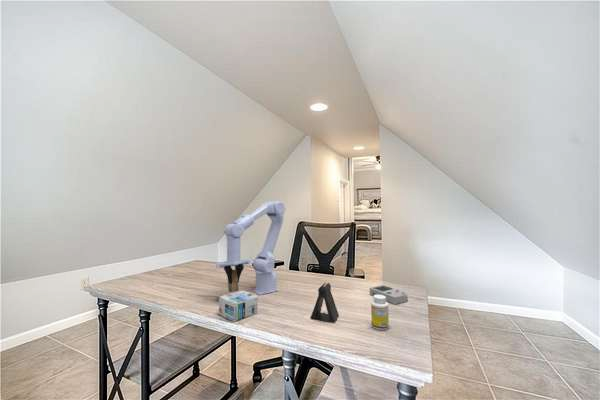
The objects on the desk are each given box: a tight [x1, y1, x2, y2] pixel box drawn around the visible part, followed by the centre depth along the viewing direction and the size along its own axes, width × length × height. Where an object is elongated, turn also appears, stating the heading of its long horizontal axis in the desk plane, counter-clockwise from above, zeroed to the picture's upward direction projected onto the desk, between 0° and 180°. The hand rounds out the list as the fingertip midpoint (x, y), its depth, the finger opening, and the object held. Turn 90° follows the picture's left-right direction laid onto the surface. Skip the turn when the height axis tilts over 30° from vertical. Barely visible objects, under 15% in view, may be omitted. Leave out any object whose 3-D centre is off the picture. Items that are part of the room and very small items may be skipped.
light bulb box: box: [218, 290, 259, 322], centre depth 101 cm, size 11×7×11 cm
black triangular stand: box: [310, 282, 339, 324], centre depth 97 cm, size 9×6×12 cm, turn 67°
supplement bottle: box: [370, 295, 390, 331], centre depth 89 cm, size 6×6×10 cm
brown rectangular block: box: [227, 269, 240, 293], centre depth 116 cm, size 2×6×9 cm, turn 33°
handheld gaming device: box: [369, 284, 409, 305], centre depth 117 cm, size 9×15×4 cm, turn 29°
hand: (233, 282), depth 115 cm, fingers closed on brown rectangular block, 2 cm apart
